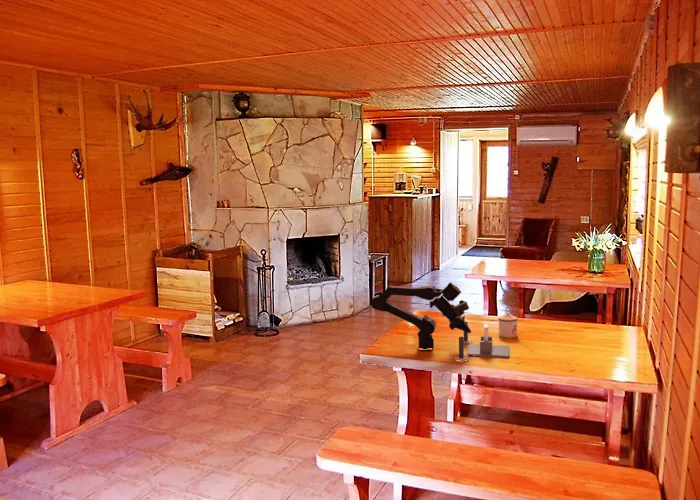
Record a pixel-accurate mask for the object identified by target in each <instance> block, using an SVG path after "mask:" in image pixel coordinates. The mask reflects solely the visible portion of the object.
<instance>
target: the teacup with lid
mask: <svg viewBox="0 0 700 500" xmlns="http://www.w3.org/2000/svg"><path fill="white" fill-rule="evenodd" d="M498 336H500V337H501V338H505V337H506V338H512V337H513V338H515V337H517V336H518V317H517V316H514V315H513V314H511V313H510V312H509V311H507V312H506V313H505V314H503V315H500V316H499V317H498Z"/></svg>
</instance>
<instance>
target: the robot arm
mask: <svg viewBox="0 0 700 500" xmlns="http://www.w3.org/2000/svg"><path fill="white" fill-rule="evenodd" d="M461 293H462V291H461V290H460V288H459V287H458V286H457V285H455V284H454V283H452V281H451V282H448V284H447V285H446V286H445V287H444V288H438V287H436V286H434V285H425V286H424V285H423V286H420V287H414V286H412V287H411V286H396V285H389V286H388V287H386V289H385V290H384V291H383V292H382V293H381V294H378V295H375V297H373V298H372V299H371V301H370V305H371V308H372V309H374V310H377V311H379V312H385V313H389V314H391V315H393V316H395V317H397V318H399V319H402V320H404V321H405V322H408V323H409V324H412V325H414V326H415V327H417V328H418V330H419V331H418V332H417V336H418V346H419V348H423V349H427V348H433V349H434V348H435V347H434V345H435V344H434V341H435V339H434V338H433V335H432V334H433V333H434V332H435V331H436V329H437V322H436V321H435V320H434V319H433V317H429V315H426V314H424V315H423V316H419V315H417V314H415V313H412V312H410V311H408V310H406V309H404V308H402V307H399V306H398V305H396V304H393V303H392V302H391V301H390V300H389V298H390V297H392V296H402V297H403V296H405V297H416V298H420V299H423V300H426V301H430V302H429V309H432V308H433V307H435V308H436V309H437V310H438V311H439V312H441V315H442V316H443V317H446V319H447V320H448V323H449V324H448V325H449V326H448V327H449V329H450V330H451V331H454V329H457V330H460V331H462V332H464V331H465V332H468V334H471V333H472V330H471V328H470V327H469V324H468V325H467V324H466V322H467V321H466V319H465V318H466V315H465V313H466V312H465V311H468V310H469V309H470V306H469V304H468V302H467V301H466V300H465V301H464V299H461V300H459V303H458V304H457V305H455V304H452V303H450V302H454V300H455V299H457V298H458V297H459V296H460V295H461ZM462 315H463V316H462Z"/></svg>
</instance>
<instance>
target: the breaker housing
mask: <svg viewBox="0 0 700 500" xmlns="http://www.w3.org/2000/svg"><path fill="white" fill-rule="evenodd" d="M467 355H475V356H487V357H486V358H496V357H500V359H504V358H505V359H510V345H497V344H493V336H492V335H488V341H484V335H480V340H479V344H475V343H472V344H468V348H467V352H466V356H467ZM475 356H474V357H475Z"/></svg>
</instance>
